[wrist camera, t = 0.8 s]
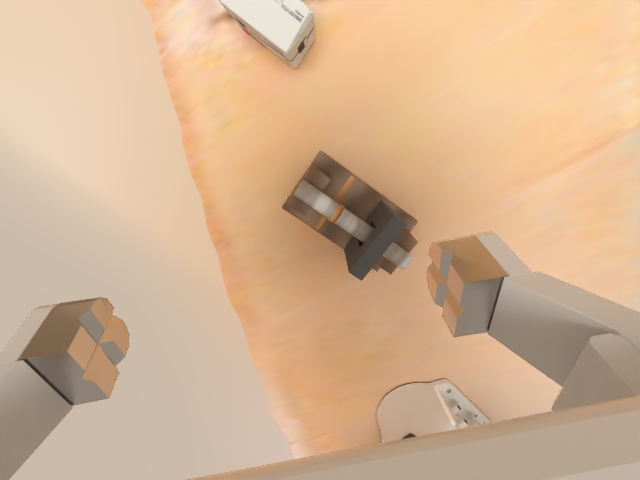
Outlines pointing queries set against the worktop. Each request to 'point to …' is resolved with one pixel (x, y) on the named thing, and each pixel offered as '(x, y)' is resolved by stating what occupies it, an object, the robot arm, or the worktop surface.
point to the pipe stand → (346, 210)
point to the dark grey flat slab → (373, 240)
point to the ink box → (276, 25)
